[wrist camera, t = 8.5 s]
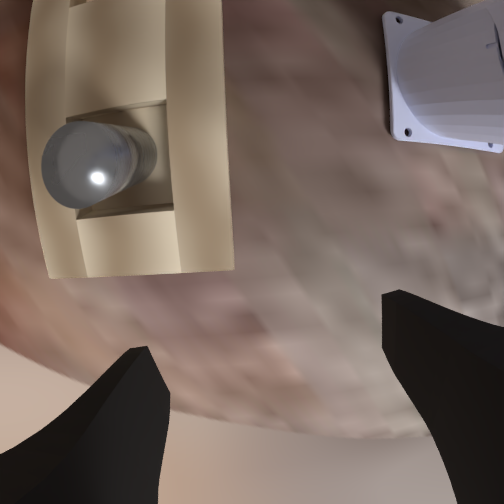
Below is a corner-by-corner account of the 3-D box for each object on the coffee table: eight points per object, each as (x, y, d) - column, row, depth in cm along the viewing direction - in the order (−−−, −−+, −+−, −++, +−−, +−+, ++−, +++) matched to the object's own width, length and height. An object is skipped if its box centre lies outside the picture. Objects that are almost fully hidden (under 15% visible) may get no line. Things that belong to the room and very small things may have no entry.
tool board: (220, -90, 11) (219, -116, 8) (233, 248, 18) (234, 270, 15) (70, -58, 10) (52, -77, 7) (72, 259, 18) (49, 278, 15)
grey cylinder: (156, 123, 15) (113, 114, 9) (159, 182, 16) (119, 205, 10) (101, 131, 14) (38, 129, 9) (105, 188, 15) (46, 212, 10)
